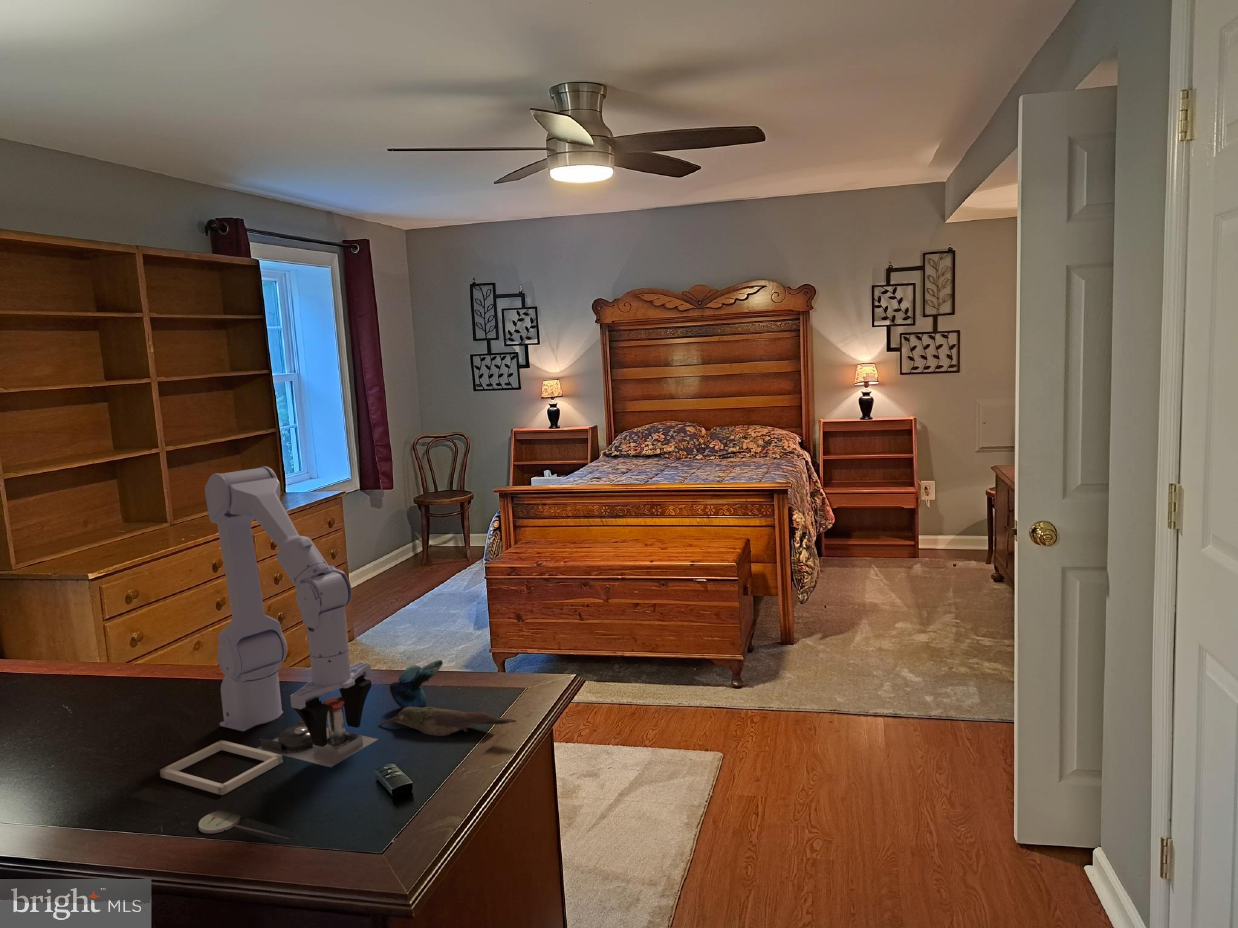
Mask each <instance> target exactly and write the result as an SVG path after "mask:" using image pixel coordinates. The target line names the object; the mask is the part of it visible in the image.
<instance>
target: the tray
mask: <svg viewBox="0 0 1238 928" xmlns="http://www.w3.org/2000/svg"><path fill="white" fill-rule="evenodd" d="M220 751H225V752H228V753H231V754H236V755H240V756H244V757H248V758H251V759H255V760H259V761H263V762H261V763H259V764H257V765H256V766H254V767H252V768H250V769H248V770H246V771H244V772H242V773H241V774H239V775H237V776H234V777H233V778H231V779H229V780H228V781H226V782H224V783H221V782H216V781H213V780H210V779H206V778H203V777H199V776H195V775H192V774H189V773H185V772H182V771H181V770H183V769H186V768H188V767H190V766H191V765H195V763H198V762H199V761H200V762H201V761H202V760H204V759H206V758H208V757H210V756H212V755H214V754H216V753H218V752H220ZM283 762H284V761H283V755H279V754H276V753H272V752H268V751H264V750H260V749H256V748H254V747H251V746H247V745H244V744H239V743H234V742H231V741H227V740H223V739H221V740H219V741H216V742H215V743H212V744H210V745H209V746H206V747H204V748H202V749H200V750H198V751H196V752H194V753H192V754H190V755H188V756H186V757H183V758H182V759H179V760H177V761H176V762H175V761H174V762H173V763H171V764H169V765H166V766H165V767H163V768H161V769H159V774H160V778H162V779H165V780H169V781H173V782H175V783H180V784H182V785H186V786H188V787H193V788H196V789H199V790H202V791H206V792H210V793H213V794H215V795H220V796H224V795H226V794H228V793H230V792H232V791H233V790H235V789H237V788H238V787H240V786H243V785H244V784H246V783H248V782H250V781H252V780H254V779H255V778H257V777H259V776H261V775H262V774H265V773H266V772H268V771H270V770H271V769H273V768H275V767H277V766H279V765H281V764H283Z"/></svg>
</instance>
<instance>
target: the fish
mask: <svg viewBox="0 0 1238 928" xmlns="http://www.w3.org/2000/svg"><path fill="white" fill-rule="evenodd" d="M443 663H444V661H443V660H442V659H437V660H434V661H431V662H430V663H427V664H425V665H424V666H422V667H421V666H420V665H417V664H412V665H410V666H408V667H407V668H406V669H404V670H403V671H402V672H401V674H400V676H399V678H398V681H396V682H392V683H391V684H389V692H390V694H391V697H392V699H393V701H394V702H395V703H396V704H397V705H398V706H399V707H400V708H401V709H402V710H403V709H404V708H405V707H420V708H423V707H427V700H426V693H425V691H424V690H423V688H422V687H421V686H422V684H424V683H425V682H426V683H430V679H431V678H433V677H435V676H436V675H437V674H438V672H439V671H440V669H441V668H442V666H443Z"/></svg>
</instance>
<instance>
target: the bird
mask: <svg viewBox="0 0 1238 928" xmlns="http://www.w3.org/2000/svg"><path fill="white" fill-rule="evenodd" d="M516 722H517V720H516V719H511V718H505V717H497V716H494V715H493V714H488V713H487V712H485V711H481V712H473V711H472V712H470V711H469V712H465V711H460V710H455V709H446V708H439V707H433V706H426V707H423V708H420V707H405V708H404V709H403V708H402V709H401V711H399V712H398V714H397V715H395V716H394V717H391V718H389V719H387V720H384V721H383V722H381V723H379V724H378V725H377V727H382V726H384V725H386V724H389V723H397V724H400V725H404V726H406V727H409V728H411V729H414V730H417V731H419V732H421V733H422V734H426V735H429V736H437V737H445V736H450V735H452V734H454V733H457V732H459V731H464V733H466V732H468V728H471V727H475V726H481V725H490V726H492V725H493V726H494V725H496V726H498V725H505V724H509V723H516Z"/></svg>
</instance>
